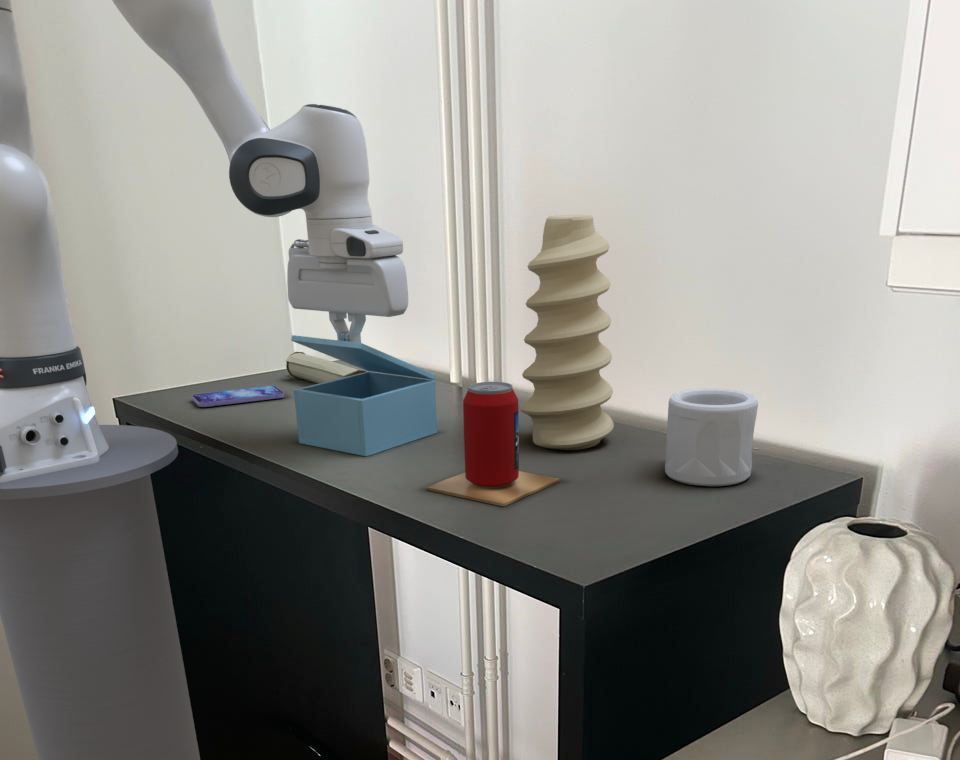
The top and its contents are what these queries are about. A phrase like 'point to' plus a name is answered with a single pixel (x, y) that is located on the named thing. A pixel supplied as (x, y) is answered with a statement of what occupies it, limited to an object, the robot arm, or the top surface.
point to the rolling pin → (317, 368)
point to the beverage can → (491, 434)
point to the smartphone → (237, 396)
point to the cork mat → (496, 496)
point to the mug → (710, 436)
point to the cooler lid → (363, 357)
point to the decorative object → (569, 337)
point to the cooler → (366, 412)
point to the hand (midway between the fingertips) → (349, 345)
